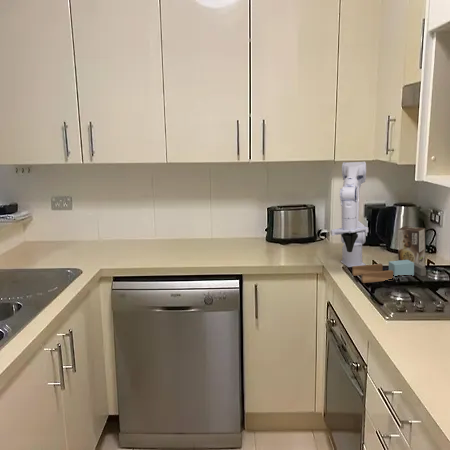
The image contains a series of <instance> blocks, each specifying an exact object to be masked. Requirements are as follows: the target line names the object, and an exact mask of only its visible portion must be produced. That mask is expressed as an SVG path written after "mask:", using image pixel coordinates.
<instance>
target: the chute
mask: <svg viewBox="0 0 450 450" xmlns="http://www.w3.org/2000/svg"><path fill="white" fill-rule="evenodd" d="M351 268H352V269H351V271H352V272H351V273H352V274H351V275H352V276H353V277H354V276H361V283H362V284H366V283H376V282H377V283H378V282H384V281H385V280H388V279H392V278H393V279H394V277H393V271H392V270H389V269H388V270H384V269H383V264H382V263H375V264H373V263H372V264H366V265H362V266H352V267H351ZM388 281H389V280H388ZM385 282H386V281H385Z"/></svg>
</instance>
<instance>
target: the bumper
mask: <svg viewBox="0 0 450 450" xmlns="http://www.w3.org/2000/svg"><path fill="white" fill-rule="evenodd" d="M414 274H417V275H418V276H420V277H424V276H427V268H426V266H424V267H423V266H421V265H419V264H417V263H414Z"/></svg>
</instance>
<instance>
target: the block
mask: <svg viewBox="0 0 450 450" xmlns="http://www.w3.org/2000/svg"><path fill="white" fill-rule="evenodd" d="M388 270H392V271H393V275H394V276H397V275H412V276H415V272H414V263H413V262H411V261H409V260H399V261H398V260H389V261H388Z"/></svg>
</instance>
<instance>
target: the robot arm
mask: <svg viewBox="0 0 450 450" xmlns="http://www.w3.org/2000/svg"><path fill="white" fill-rule="evenodd" d="M341 175H342V180H343V183H342V188H339V189H340V190H339V199H340V207H341V227H339V228H335V229H330V236H337V235H340V239H341V241H340V242H341V243H342V244H343V245H342V247H341V248H342V249H341V251H342V252H341V253H342V256H341V257H342V260H340V261H339V262H340V263H342V265H345V266H346V267H347V268H352V266H362V265H367V264H366V263H364V262H363V245H364V244H365V243H366V235H367V234H366V233H369V227H367V226H366V225H365V224H364V223H362V222H361V221H360V190H361V186H362V184H363V183H365V182H366V180H367V163H366V161H365V160H364V161H350V162H346V161H343V162H342V163H341Z"/></svg>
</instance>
